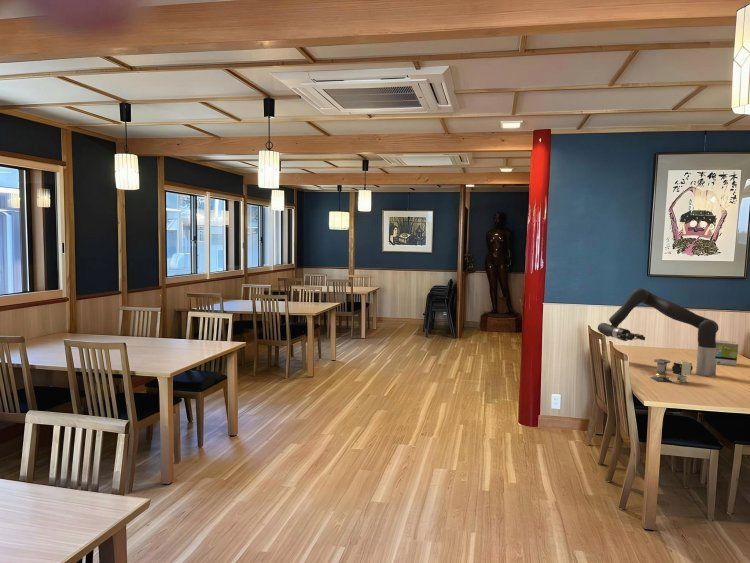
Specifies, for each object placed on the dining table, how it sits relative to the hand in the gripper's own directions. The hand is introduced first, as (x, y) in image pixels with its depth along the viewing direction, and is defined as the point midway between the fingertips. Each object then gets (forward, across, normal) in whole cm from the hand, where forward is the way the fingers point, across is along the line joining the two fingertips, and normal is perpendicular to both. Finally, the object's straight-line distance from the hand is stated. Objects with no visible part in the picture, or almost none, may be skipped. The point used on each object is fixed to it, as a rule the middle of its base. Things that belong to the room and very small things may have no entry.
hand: (638, 338), depth 330 cm
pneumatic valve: (+26, +9, +20) cm, 34 cm away
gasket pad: (+21, 0, +20) cm, 29 cm away
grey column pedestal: (+21, 0, +20) cm, 29 cm away
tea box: (-15, +75, +20) cm, 80 cm away
